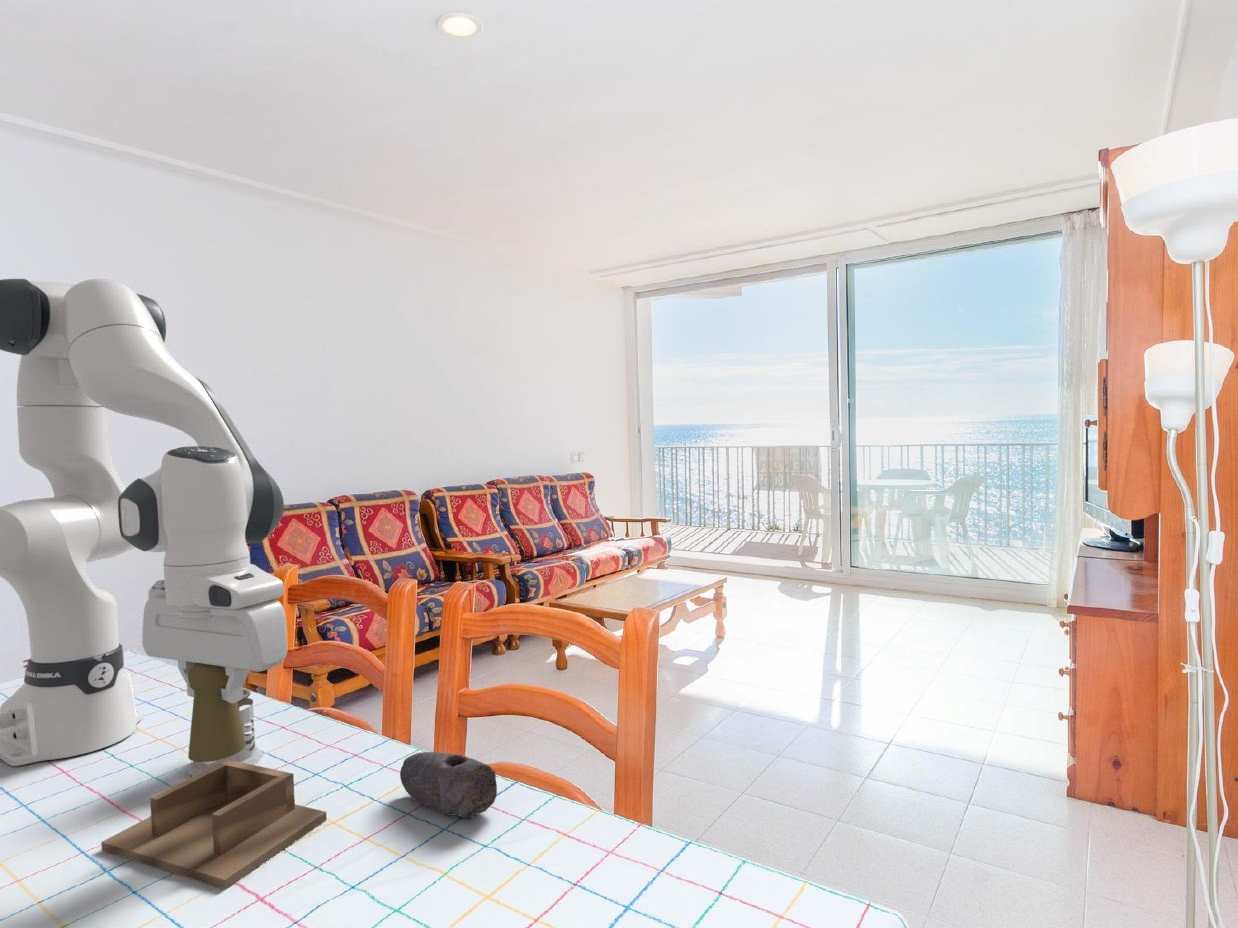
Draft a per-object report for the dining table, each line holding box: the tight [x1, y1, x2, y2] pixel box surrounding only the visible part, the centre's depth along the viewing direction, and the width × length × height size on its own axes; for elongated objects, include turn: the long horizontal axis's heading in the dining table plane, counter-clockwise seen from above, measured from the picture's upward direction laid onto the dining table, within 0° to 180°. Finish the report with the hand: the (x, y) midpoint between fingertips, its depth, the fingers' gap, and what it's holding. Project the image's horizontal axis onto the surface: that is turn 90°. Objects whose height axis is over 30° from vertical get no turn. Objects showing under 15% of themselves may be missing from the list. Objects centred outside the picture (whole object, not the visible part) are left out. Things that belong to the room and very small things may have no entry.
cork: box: [187, 663, 246, 762], centre depth 84 cm, size 6×6×11 cm
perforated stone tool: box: [399, 751, 498, 820], centre depth 89 cm, size 15×5×7 cm, turn 57°
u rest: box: [100, 760, 327, 890], centre depth 84 cm, size 20×14×6 cm
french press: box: [187, 687, 264, 777], centre depth 103 cm, size 10×12×25 cm
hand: (215, 698), depth 84 cm, fingers closed on cork, 4 cm apart
